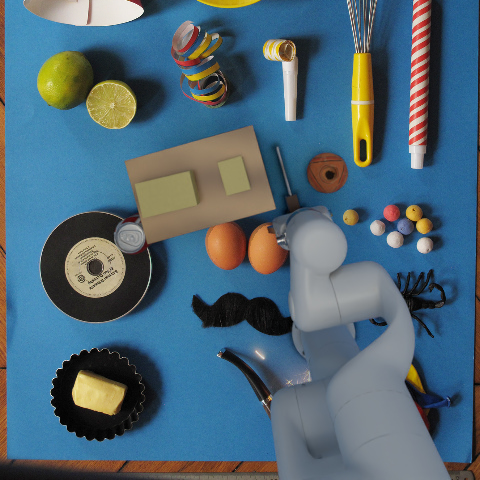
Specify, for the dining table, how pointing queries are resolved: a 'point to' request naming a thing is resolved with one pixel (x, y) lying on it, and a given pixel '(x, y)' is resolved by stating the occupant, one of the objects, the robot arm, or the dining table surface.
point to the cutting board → (204, 183)
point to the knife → (291, 198)
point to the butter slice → (234, 175)
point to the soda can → (131, 235)
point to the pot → (327, 172)
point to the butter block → (167, 194)
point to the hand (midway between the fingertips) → (295, 216)
